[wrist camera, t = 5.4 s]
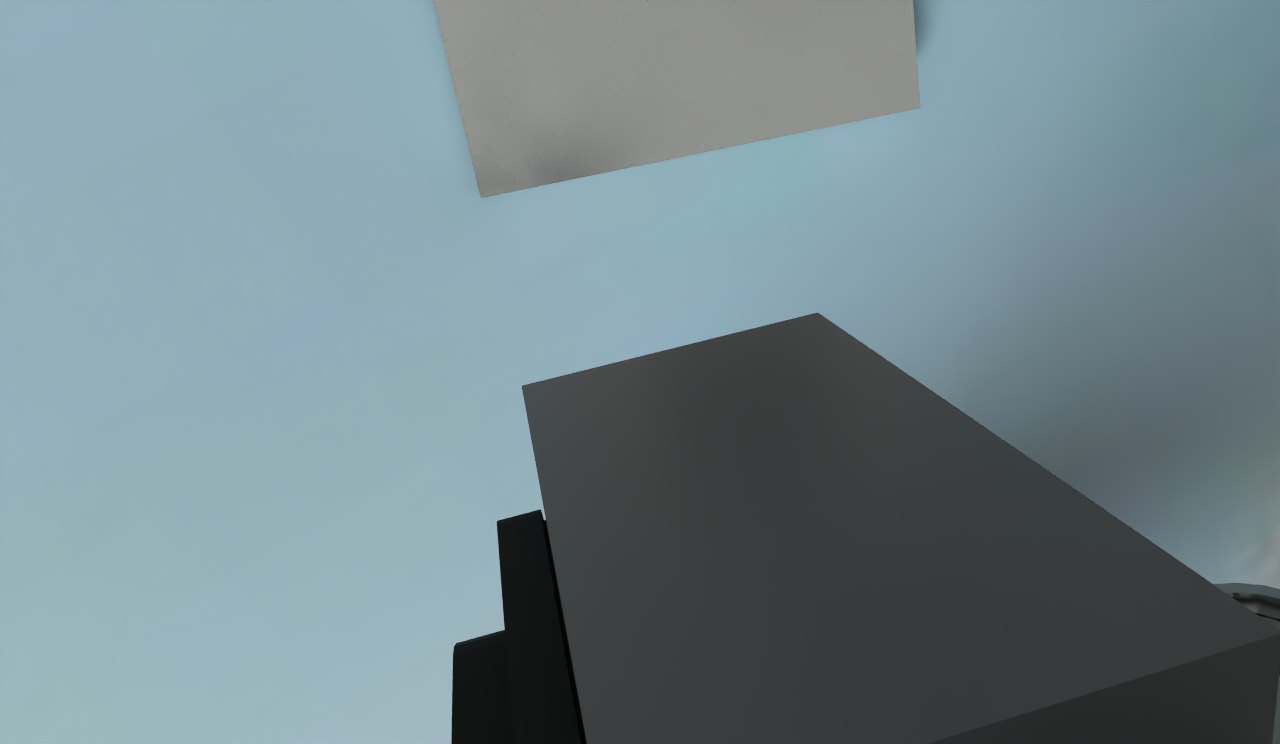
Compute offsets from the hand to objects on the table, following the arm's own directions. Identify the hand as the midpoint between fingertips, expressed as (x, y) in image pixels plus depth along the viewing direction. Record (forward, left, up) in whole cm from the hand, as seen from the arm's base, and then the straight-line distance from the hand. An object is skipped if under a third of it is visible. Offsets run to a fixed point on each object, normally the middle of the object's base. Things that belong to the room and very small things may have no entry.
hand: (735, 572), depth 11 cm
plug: (0, 0, -1) cm, 1 cm away
